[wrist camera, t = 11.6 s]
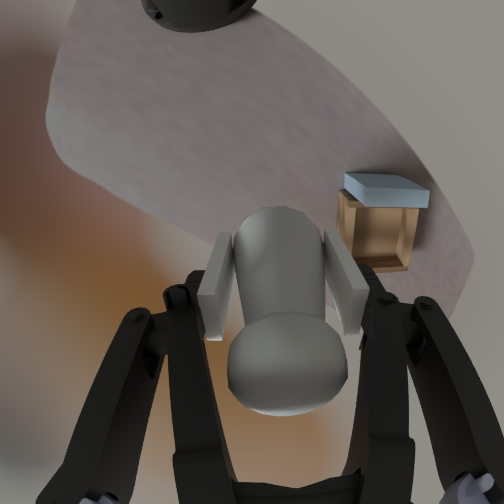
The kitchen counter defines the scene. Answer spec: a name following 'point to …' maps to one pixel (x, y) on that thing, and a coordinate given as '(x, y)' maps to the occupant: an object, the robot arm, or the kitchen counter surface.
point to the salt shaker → (283, 317)
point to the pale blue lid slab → (386, 190)
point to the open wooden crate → (377, 233)
